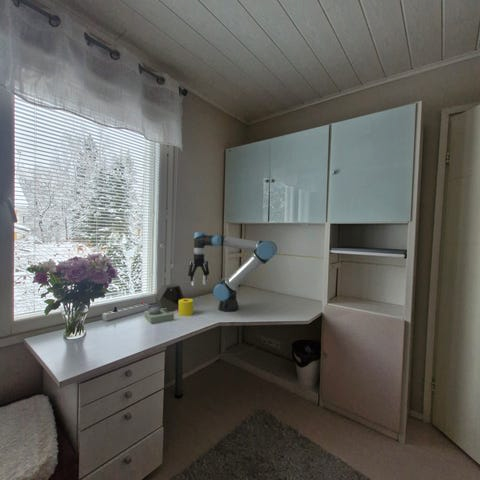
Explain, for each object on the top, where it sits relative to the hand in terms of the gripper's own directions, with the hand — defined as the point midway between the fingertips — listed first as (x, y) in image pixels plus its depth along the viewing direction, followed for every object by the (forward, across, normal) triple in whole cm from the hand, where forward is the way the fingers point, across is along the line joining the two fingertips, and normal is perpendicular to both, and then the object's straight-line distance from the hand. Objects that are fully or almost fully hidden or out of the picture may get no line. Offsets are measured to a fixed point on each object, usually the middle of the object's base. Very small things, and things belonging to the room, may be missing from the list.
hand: (198, 285), depth 183 cm
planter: (+20, +16, -15) cm, 29 cm away
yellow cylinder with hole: (+20, +10, 0) cm, 22 cm away
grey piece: (+19, +28, 0) cm, 34 cm away
